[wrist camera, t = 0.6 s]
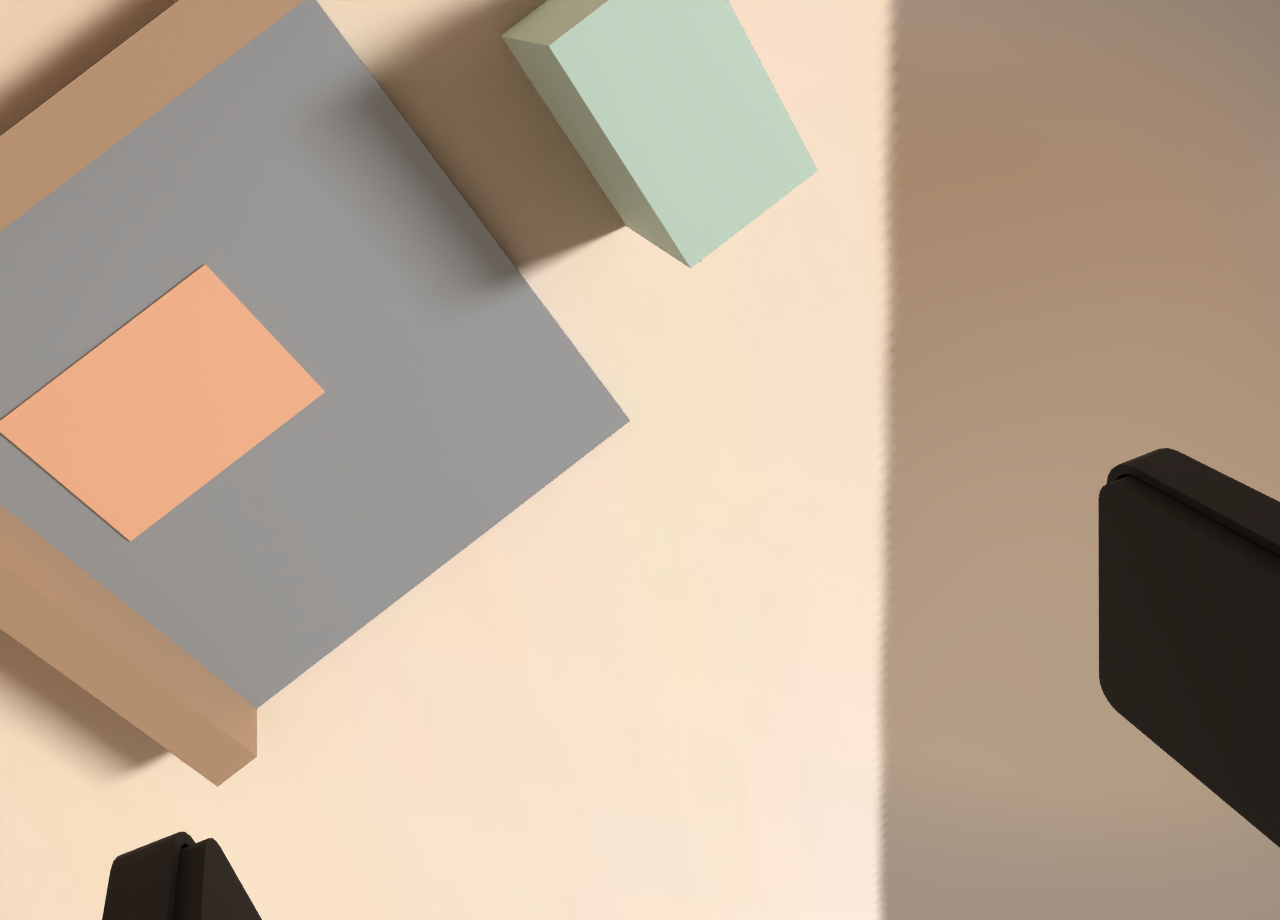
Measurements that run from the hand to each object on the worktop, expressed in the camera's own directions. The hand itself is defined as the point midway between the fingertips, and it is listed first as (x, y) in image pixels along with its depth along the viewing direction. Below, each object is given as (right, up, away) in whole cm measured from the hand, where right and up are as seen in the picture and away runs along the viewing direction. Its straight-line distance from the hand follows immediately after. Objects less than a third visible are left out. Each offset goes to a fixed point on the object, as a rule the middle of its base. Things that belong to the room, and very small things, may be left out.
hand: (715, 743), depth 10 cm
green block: (-1, +14, +22) cm, 26 cm away
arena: (-13, +5, +22) cm, 26 cm away
